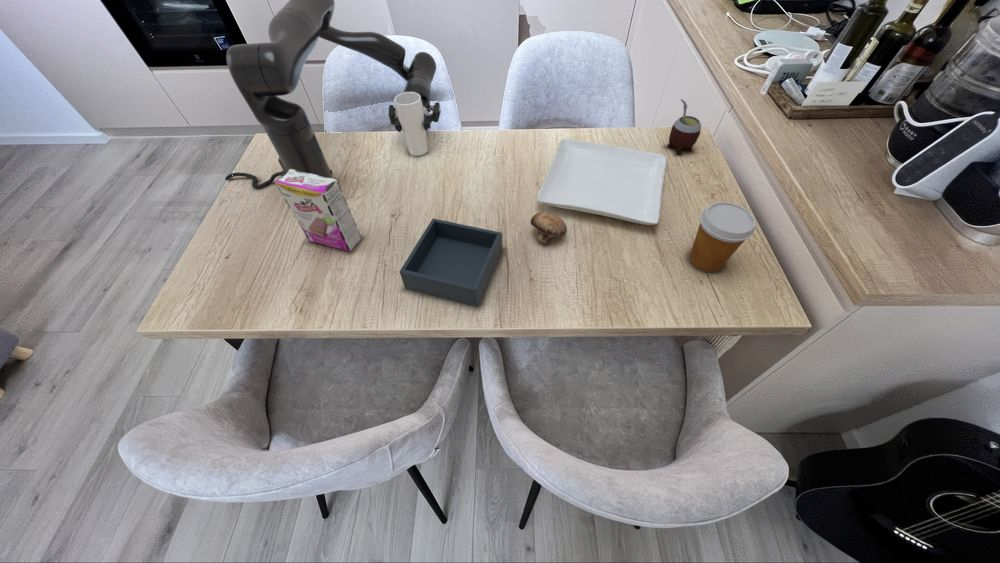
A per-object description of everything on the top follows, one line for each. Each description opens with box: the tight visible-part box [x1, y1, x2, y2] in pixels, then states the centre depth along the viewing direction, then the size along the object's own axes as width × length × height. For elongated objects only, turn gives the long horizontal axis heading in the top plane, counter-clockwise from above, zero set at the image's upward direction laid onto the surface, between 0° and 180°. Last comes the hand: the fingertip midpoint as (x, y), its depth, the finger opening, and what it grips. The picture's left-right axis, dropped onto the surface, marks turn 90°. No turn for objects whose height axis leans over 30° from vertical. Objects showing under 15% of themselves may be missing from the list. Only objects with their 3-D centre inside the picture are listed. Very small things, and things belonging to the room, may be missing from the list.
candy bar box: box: [275, 169, 362, 253], centre depth 82 cm, size 11×5×16 cm, turn 71°
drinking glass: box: [393, 91, 429, 157], centre depth 104 cm, size 7×7×15 cm
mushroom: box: [530, 211, 568, 245], centre depth 86 cm, size 8×8×6 cm
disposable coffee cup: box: [689, 201, 757, 273], centre depth 77 cm, size 10×10×12 cm
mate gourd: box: [666, 98, 702, 156], centre depth 101 cm, size 8×8×15 cm
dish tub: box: [399, 218, 504, 308], centre depth 80 cm, size 16×16×5 cm
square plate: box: [535, 138, 668, 226], centre depth 96 cm, size 27×27×4 cm
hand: (412, 128), depth 101 cm, fingers closed on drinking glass, 6 cm apart
